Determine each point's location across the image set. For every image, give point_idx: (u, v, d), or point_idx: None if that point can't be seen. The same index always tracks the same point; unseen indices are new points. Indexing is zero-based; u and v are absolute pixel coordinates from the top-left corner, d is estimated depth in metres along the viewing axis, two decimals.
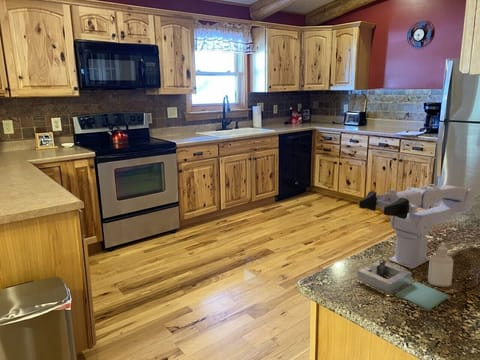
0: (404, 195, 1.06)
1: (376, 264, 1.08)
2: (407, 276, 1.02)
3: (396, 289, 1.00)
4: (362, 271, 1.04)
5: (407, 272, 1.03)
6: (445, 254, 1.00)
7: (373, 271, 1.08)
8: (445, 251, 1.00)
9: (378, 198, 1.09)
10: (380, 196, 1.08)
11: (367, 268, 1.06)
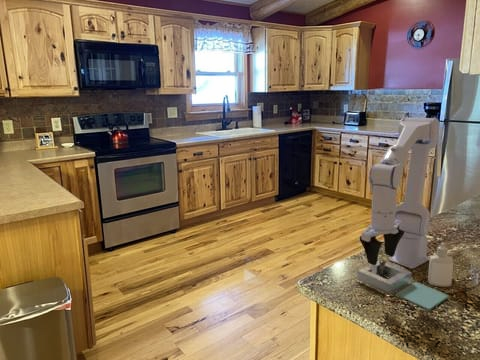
0: (395, 216, 0.95)
1: (376, 264, 1.08)
2: (407, 276, 1.02)
3: (396, 289, 1.00)
4: (362, 271, 1.04)
5: (407, 272, 1.03)
6: (445, 254, 1.00)
7: (373, 271, 1.08)
8: (445, 251, 1.00)
9: None
10: None
11: (367, 268, 1.06)
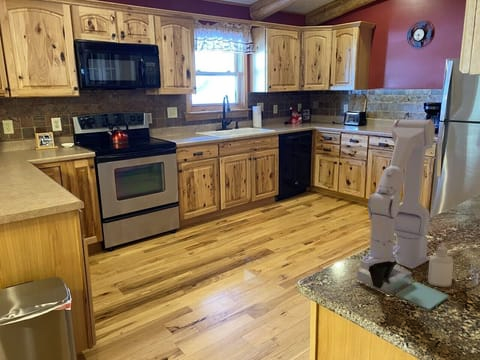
0: None
1: None
2: (407, 276, 1.02)
3: (396, 289, 1.00)
4: (362, 271, 1.04)
5: (407, 272, 1.03)
6: (445, 254, 1.00)
7: None
8: (445, 251, 1.00)
9: None
10: None
11: None
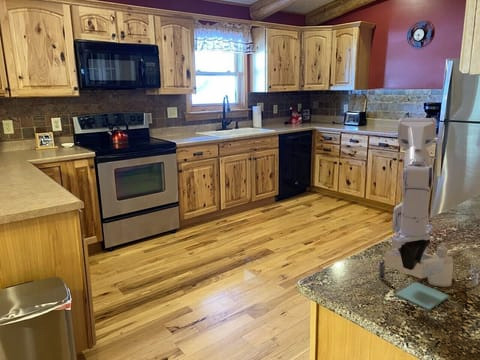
0: None
1: None
2: (439, 262, 0.95)
3: (428, 273, 0.92)
4: (391, 253, 0.97)
5: (439, 258, 0.96)
6: (445, 254, 1.00)
7: None
8: (445, 251, 1.00)
9: None
10: None
11: (396, 251, 0.99)
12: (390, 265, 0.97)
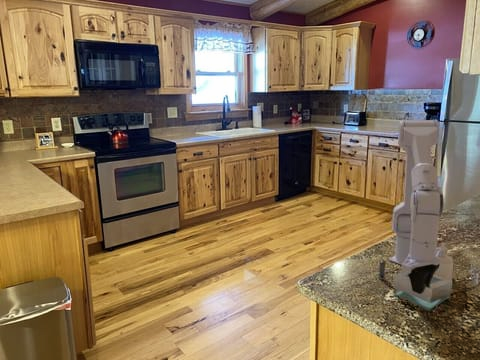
0: (436, 245, 0.89)
1: None
2: (448, 285, 0.94)
3: (437, 296, 0.92)
4: (399, 276, 0.97)
5: (448, 280, 0.95)
6: (445, 254, 1.00)
7: None
8: (445, 251, 1.00)
9: None
10: None
11: (404, 273, 0.98)
12: (399, 288, 0.96)
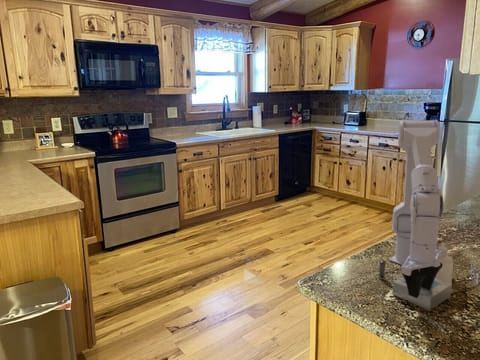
0: None
1: None
2: (448, 288, 0.94)
3: (437, 302, 0.92)
4: (398, 282, 0.97)
5: (447, 283, 0.95)
6: (445, 254, 1.00)
7: None
8: (445, 251, 1.00)
9: None
10: None
11: (403, 279, 0.98)
12: (398, 294, 0.97)
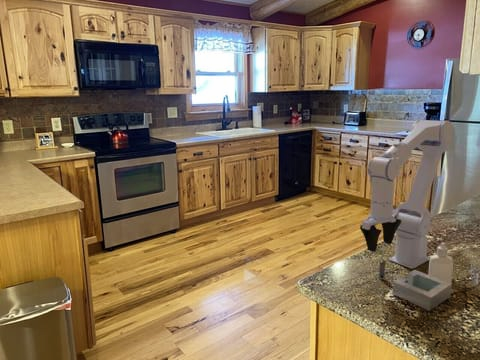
0: (392, 206, 1.02)
1: (412, 274, 1.00)
2: (448, 288, 0.94)
3: (437, 302, 0.92)
4: (398, 282, 0.97)
5: (447, 283, 0.95)
6: (445, 254, 1.00)
7: (408, 282, 1.01)
8: (445, 251, 1.00)
9: None
10: None
11: (403, 279, 0.98)
12: (398, 294, 0.97)
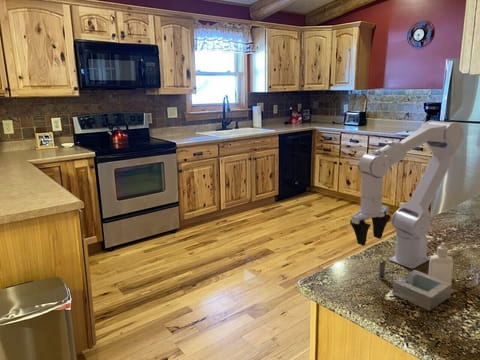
0: (381, 201, 1.06)
1: (412, 274, 1.00)
2: (448, 288, 0.94)
3: (437, 302, 0.92)
4: (398, 282, 0.97)
5: (447, 283, 0.95)
6: (445, 254, 1.00)
7: (408, 282, 1.01)
8: (445, 251, 1.00)
9: None
10: None
11: (403, 279, 0.98)
12: (398, 294, 0.97)
